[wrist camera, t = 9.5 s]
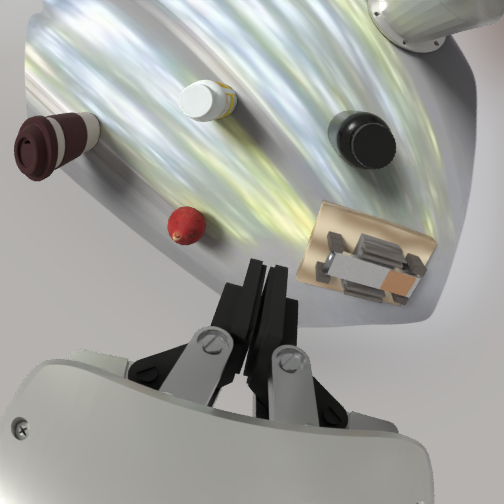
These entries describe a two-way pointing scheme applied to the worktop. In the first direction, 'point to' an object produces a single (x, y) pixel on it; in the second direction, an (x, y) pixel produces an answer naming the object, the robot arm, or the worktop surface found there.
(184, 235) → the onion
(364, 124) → the supplement bottle
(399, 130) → the worktop surface
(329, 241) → the heatsink base
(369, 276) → the strap
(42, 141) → the coffee cup
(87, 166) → the worktop surface
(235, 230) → the worktop surface
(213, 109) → the supplement bottle
